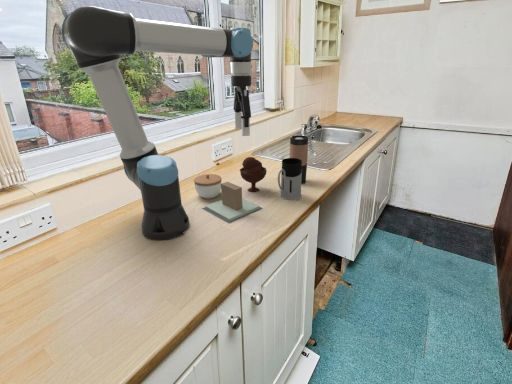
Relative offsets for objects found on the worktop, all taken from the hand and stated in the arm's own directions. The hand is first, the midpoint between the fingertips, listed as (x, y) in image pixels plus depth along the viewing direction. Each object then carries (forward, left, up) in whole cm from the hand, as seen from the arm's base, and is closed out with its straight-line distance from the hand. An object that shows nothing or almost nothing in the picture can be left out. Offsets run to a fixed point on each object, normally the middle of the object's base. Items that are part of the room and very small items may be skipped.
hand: (242, 132), depth 125 cm
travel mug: (+21, -12, -24) cm, 34 cm away
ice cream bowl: (0, -6, -24) cm, 25 cm away
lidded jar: (-16, +3, -24) cm, 29 cm away
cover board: (-17, -13, -23) cm, 31 cm away
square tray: (-17, -13, -24) cm, 32 cm away
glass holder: (+4, -21, -24) cm, 32 cm away
